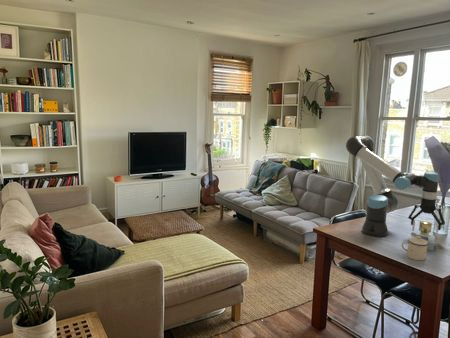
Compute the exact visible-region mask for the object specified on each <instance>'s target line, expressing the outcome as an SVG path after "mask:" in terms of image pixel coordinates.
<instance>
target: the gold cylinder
mask: <svg viewBox="0 0 450 338" xmlns="http://www.w3.org/2000/svg"><path fill="white" fill-rule="evenodd" d="M432 225H433V223H432V222H429V221H427V220H426V221H425V220H421V221H419V225H418V231H419V232H420V233H419V234H424V235H429V234H430V233H432V227H433V226H432ZM429 236H430V235H429Z"/></svg>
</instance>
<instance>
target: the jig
mask: <svg viewBox="0 0 450 338" xmlns="http://www.w3.org/2000/svg"><path fill="white" fill-rule="evenodd" d="M417 236H420V237H421V238H422V239H423V240H425V241H427V242H428V245H427V251H432V252H434V247H435V240H436V237H435V236H436V235H435V236H434V235H424V234H420V233H418V232H414V231H412V232H410V237H409V239H410V238H415V237H417Z"/></svg>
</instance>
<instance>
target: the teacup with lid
mask: <svg viewBox="0 0 450 338" xmlns="http://www.w3.org/2000/svg"><path fill="white" fill-rule="evenodd" d="M405 244H406V245H408V246H407V249H406V248H405V247H404V245H405ZM427 245H428V242H427V241H425V240H423V239H422V238H421V237H420V236H417V237H415V238H410V237H409V238H408V241H403V242H402V243H401V248H402V250H404V251H405V252H407V257H408V258H410V259H412V260H414V261H424V260H426V259H427V252H428V250H427Z"/></svg>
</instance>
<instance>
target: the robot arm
mask: <svg viewBox="0 0 450 338" xmlns="http://www.w3.org/2000/svg"><path fill="white" fill-rule="evenodd" d="M374 147H375V142H374V140H373V138H371V136H369V135H365V134H363V135H356V136H351V137H350V138H349V139H347V140H346V143H345V148H346V151H347V152H348V153H349V154H350V155H351V156H353V157H354V158H356V159H359V160H360V162H361V164H362V167H363V169H364V172H365V174H366V176H367V178H368V181H369V183H370V186H371V188H372V191H373V194H372V195H370V196H368V198H367V201H366V211H365V214H366V215H365V220H364V223H363V225H362V227H361V232H362V233H363V234H365V235H368V236H371V237H380V238H381V237H387V236H388V233H389V229H388V226H387V214H389V213H392V212H394V211H395V210H397V209H398V207H399V204H400V203H399V197H398V196H396V194H393V191H392V190H391V188H388V185H387V183H386V181H385V179H384V177H385V178H386V179H387V180H389V181H391V182H392V183H394V186H395V188H397V190H400V191H401V190H408V189H410V188H412V187H418V188H422V192H421V200H420V201H421V202H420V204H418V203H415V205H413V206H414V207H413V209H412V211H411V213H410V214H409V216H408V217H407V218H408V219H409V220H410V226H412V228H411V231H412V232H414V230H415V226H416V225H415V224H416V219H417V217H419V216H420V215H421V214H422V213H424V214H431V215H432V217H433V218H434V220H435V221H436V223H437V224H436V231H435V236H438V234H439V231H441V227H442V226H444V225H445V224H446V222H445V218H444V215H443V212H442V207H436V203H437V197H438V190H439V189H438V188H439V183H440V182H439V179H440V175H439V173H437V172H434V171H432V172H431V171H426V172H424V174H420V173H413V172H412V173H411V172H402V171H400V170H399V169H397V168H396V167H395V166H393V165H392V164H390V163H389V162H387V161H386V160H385V159H382V158H381V157H380V156H379V155H378V154H375V148H374ZM419 208H420V210H419V211H418V212H416V210H417V209H419ZM435 211H436V212H437V213H438V215H439V217H438V215H436V212H435ZM415 212H416V214H414V213H415Z"/></svg>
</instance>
